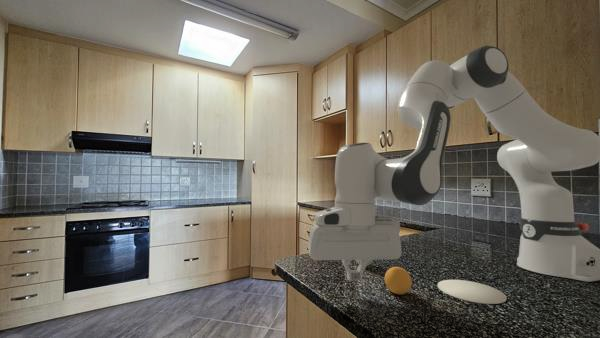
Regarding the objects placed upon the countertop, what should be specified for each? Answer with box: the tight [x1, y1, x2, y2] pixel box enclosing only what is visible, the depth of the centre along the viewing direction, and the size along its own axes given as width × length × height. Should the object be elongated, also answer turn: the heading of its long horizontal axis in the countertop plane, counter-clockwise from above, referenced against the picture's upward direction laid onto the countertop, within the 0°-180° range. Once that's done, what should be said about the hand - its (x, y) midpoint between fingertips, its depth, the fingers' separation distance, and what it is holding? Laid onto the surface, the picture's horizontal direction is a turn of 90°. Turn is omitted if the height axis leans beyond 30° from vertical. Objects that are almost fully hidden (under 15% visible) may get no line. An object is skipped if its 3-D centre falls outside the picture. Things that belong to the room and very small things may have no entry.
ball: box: [384, 266, 413, 295], centre depth 57 cm, size 6×6×6 cm
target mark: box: [437, 279, 508, 305], centre depth 59 cm, size 13×13×1 cm
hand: (354, 279), depth 56 cm, fingers closed
